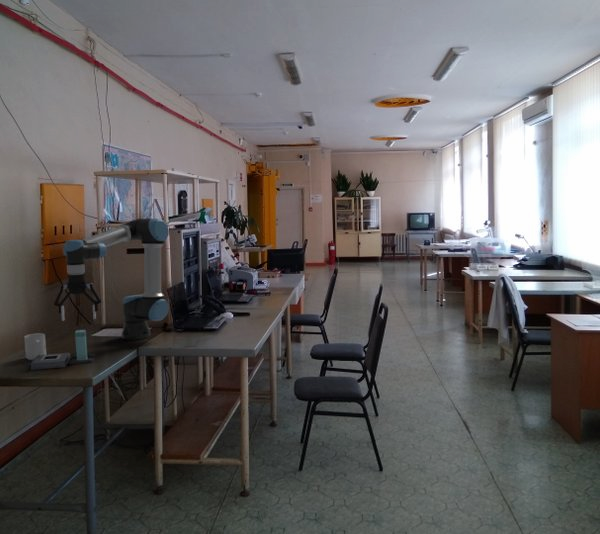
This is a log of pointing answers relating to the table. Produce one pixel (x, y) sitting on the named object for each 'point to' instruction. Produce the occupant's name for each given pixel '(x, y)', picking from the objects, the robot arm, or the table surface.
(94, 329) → the table surface
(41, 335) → the mug
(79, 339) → the plug
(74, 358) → the dark grey square tray
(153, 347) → the table surface
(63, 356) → the port
